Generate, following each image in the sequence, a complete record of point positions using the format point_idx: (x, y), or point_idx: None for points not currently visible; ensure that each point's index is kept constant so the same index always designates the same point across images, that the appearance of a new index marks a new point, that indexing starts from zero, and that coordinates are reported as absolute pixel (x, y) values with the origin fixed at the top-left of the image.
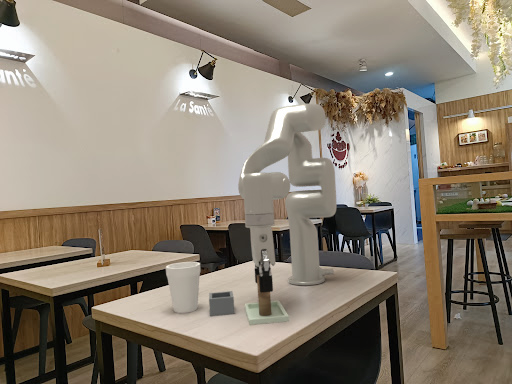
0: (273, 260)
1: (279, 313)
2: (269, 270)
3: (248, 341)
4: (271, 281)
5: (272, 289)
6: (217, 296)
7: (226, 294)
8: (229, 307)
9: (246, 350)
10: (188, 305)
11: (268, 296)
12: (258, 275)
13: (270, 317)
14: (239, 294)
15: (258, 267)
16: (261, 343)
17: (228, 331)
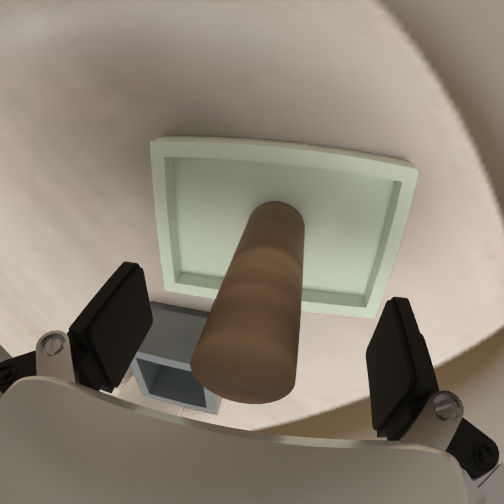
0: (467, 499)
1: (291, 167)
2: (491, 441)
3: (460, 318)
4: (420, 350)
5: (408, 305)
6: (150, 375)
7: (141, 359)
8: None
9: (494, 327)
10: (177, 408)
11: (299, 264)
12: (233, 394)
13: (395, 246)
14: (22, 249)
15: (99, 382)
16: (490, 293)
17: (364, 350)
